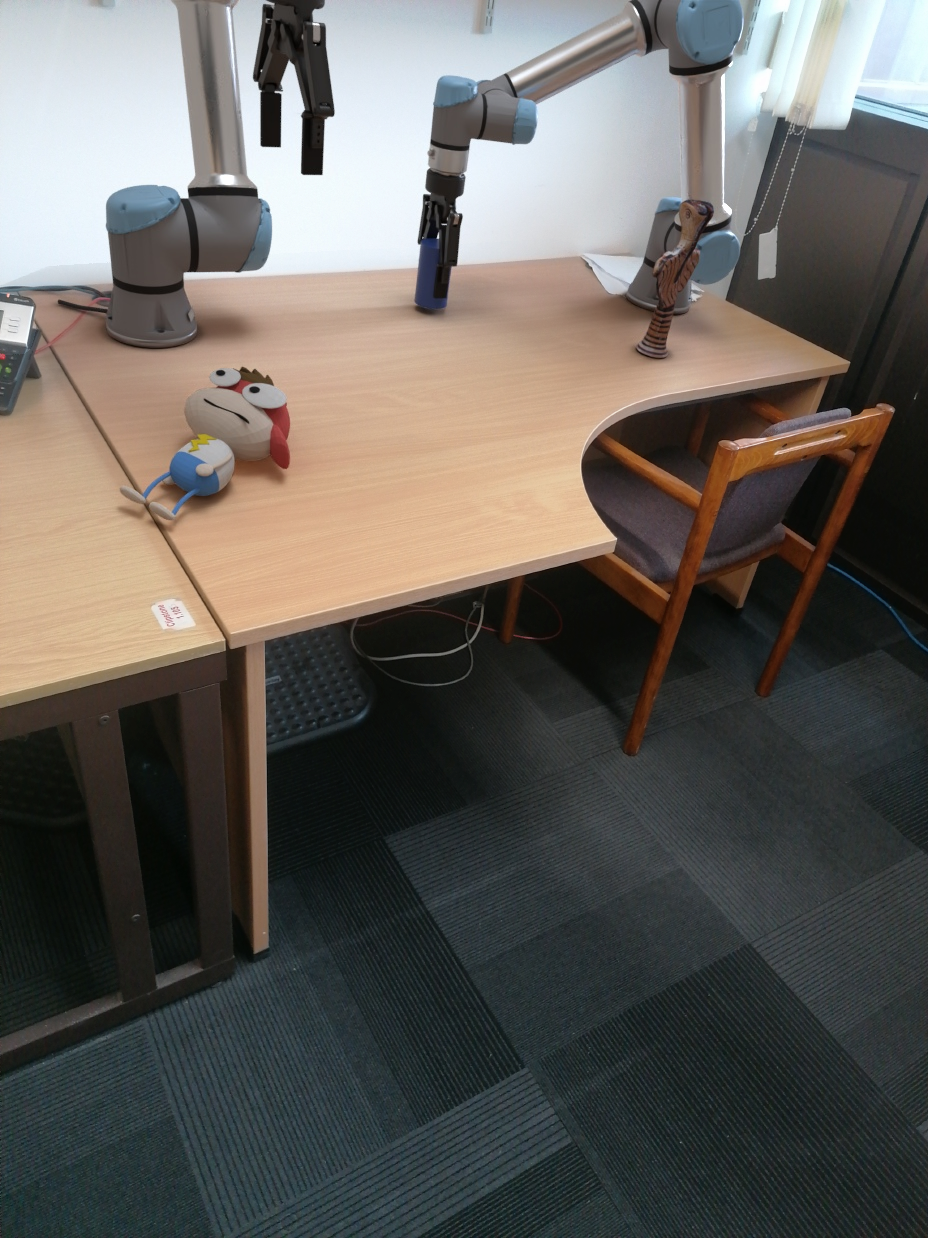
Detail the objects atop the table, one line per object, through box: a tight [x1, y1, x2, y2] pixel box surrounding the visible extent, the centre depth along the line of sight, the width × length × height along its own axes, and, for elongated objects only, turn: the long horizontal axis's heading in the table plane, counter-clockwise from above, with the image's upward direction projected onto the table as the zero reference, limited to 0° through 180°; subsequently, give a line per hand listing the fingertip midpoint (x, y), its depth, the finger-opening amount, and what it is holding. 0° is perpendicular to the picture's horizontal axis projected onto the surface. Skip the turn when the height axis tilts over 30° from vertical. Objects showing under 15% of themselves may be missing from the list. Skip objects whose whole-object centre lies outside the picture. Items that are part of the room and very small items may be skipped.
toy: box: [119, 366, 291, 521], centre depth 123 cm, size 18×10×30 cm
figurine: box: [635, 199, 714, 359], centre depth 176 cm, size 15×8×30 cm, turn 144°
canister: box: [414, 237, 452, 310], centre depth 182 cm, size 7×7×12 cm
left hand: (290, 160), depth 119 cm, fingers open, 13 cm apart
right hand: (432, 290), depth 184 cm, fingers closed on canister, 7 cm apart
